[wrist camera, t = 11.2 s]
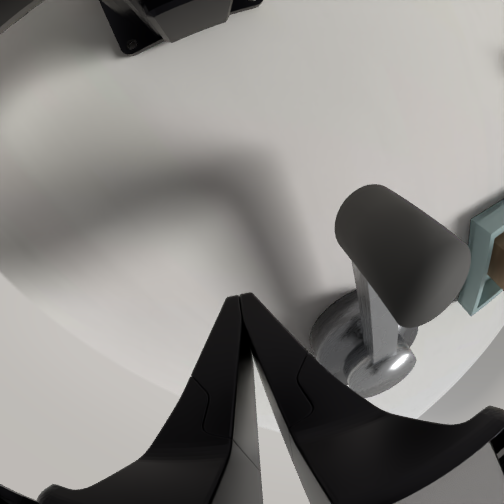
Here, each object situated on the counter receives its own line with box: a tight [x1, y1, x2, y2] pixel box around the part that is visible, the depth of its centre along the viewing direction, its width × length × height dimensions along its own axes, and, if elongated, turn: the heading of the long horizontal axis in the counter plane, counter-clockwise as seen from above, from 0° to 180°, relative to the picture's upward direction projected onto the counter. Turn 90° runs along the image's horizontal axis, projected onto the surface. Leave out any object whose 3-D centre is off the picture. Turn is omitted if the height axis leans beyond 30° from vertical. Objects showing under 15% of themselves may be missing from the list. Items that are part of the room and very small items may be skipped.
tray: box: [458, 199, 504, 316], centre depth 17 cm, size 10×10×2 cm
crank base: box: [310, 290, 418, 385], centre depth 18 cm, size 9×10×3 cm
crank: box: [335, 184, 471, 398], centre depth 12 cm, size 16×5×5 cm, turn 22°
